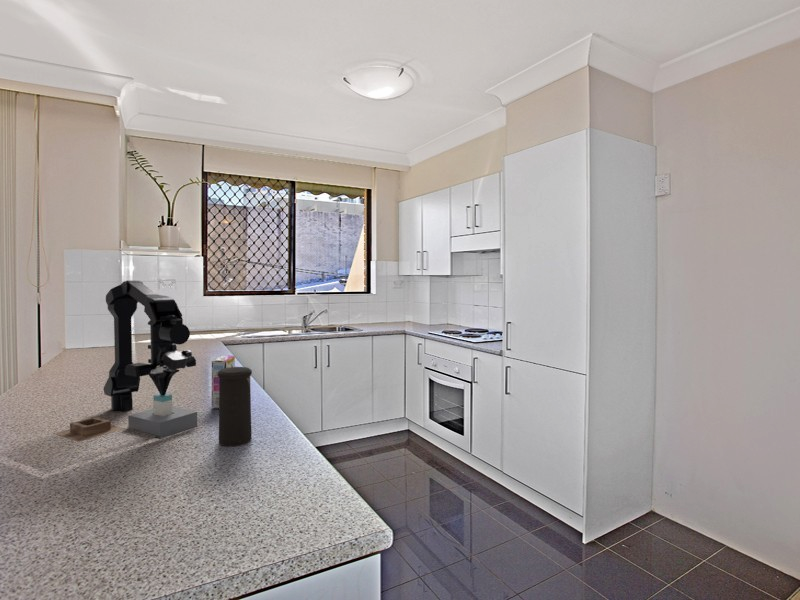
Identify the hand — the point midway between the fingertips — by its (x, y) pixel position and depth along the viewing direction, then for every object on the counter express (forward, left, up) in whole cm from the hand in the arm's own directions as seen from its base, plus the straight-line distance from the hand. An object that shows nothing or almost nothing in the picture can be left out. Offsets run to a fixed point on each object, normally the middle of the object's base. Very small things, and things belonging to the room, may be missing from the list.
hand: (162, 394), depth 134 cm
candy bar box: (-5, +26, -10) cm, 28 cm away
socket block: (0, 0, -10) cm, 10 cm away
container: (+26, +3, -10) cm, 28 cm away
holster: (-13, -13, -10) cm, 21 cm away
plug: (0, 0, -10) cm, 10 cm away
